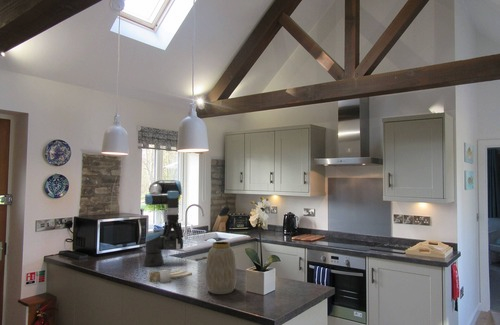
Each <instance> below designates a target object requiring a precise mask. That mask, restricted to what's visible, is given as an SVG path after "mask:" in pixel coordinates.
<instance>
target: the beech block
mask: <svg viewBox="0 0 500 325" xmlns="http://www.w3.org/2000/svg"><path fill="white" fill-rule="evenodd" d="M148 276H149V280H148V281H149V282H152V281H153V283H157V282H160V271H152V272H149V275H148Z"/></svg>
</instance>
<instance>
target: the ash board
mask: <svg viewBox="0 0 500 325" xmlns="http://www.w3.org/2000/svg"><path fill="white" fill-rule="evenodd" d="M192 275H193V272H190V271H185V270H181V269H179V270H174V271H170V280H178V279H181V278H185V277H188V276H192Z"/></svg>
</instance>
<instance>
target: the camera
mask: <svg viewBox="0 0 500 325" xmlns="http://www.w3.org/2000/svg"><path fill="white" fill-rule="evenodd" d="M176 239H177V236H176V237H175V236H174V235H173V234H170V235H168V236H167V238H166V239H165V240H164V250H163V251H169V250H171V251H172V250H174V251H175V250H177V249H176ZM183 248H184V238H181V244H180V249H179V250H182V249H183Z"/></svg>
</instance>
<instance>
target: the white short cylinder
mask: <svg viewBox="0 0 500 325" xmlns="http://www.w3.org/2000/svg"><path fill="white" fill-rule="evenodd" d="M159 272H160V280H159V283H160V282H161V284H167V283H170V282H171V279H170V273H171V269H170V268H161V269H159Z"/></svg>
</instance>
